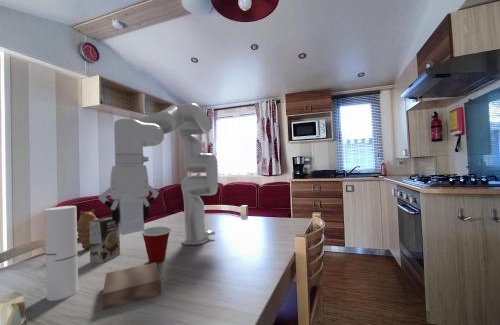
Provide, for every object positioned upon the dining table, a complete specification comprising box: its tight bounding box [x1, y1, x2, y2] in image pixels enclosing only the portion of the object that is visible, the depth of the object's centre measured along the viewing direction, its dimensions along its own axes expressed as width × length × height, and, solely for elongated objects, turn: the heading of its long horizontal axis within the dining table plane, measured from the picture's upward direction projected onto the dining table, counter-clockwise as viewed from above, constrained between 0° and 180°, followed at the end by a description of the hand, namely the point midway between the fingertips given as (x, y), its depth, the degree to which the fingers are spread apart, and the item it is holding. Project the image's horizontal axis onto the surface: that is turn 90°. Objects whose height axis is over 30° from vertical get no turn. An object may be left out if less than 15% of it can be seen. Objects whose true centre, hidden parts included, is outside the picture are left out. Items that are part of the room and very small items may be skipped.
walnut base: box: [102, 263, 163, 310], centre depth 68 cm, size 14×14×4 cm
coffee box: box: [89, 216, 121, 264], centre depth 95 cm, size 9×6×16 cm
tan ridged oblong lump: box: [77, 209, 99, 250], centre depth 107 cm, size 9×8×18 cm
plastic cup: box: [140, 225, 172, 264], centre depth 90 cm, size 11×11×12 cm
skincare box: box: [117, 192, 145, 236], centre depth 68 cm, size 6×4×12 cm
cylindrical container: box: [44, 205, 79, 302], centre depth 68 cm, size 7×7×25 cm
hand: (131, 220), depth 68 cm, fingers closed on skincare box, 6 cm apart
